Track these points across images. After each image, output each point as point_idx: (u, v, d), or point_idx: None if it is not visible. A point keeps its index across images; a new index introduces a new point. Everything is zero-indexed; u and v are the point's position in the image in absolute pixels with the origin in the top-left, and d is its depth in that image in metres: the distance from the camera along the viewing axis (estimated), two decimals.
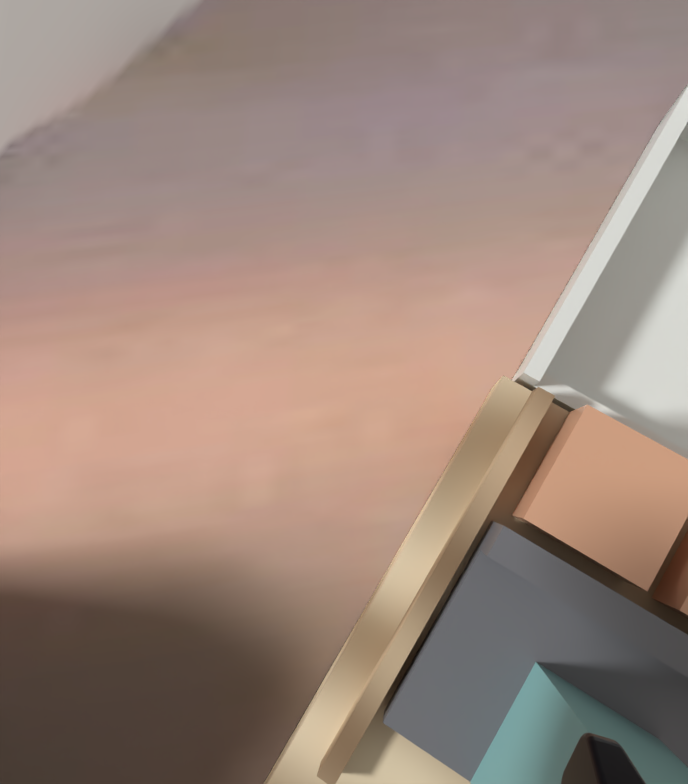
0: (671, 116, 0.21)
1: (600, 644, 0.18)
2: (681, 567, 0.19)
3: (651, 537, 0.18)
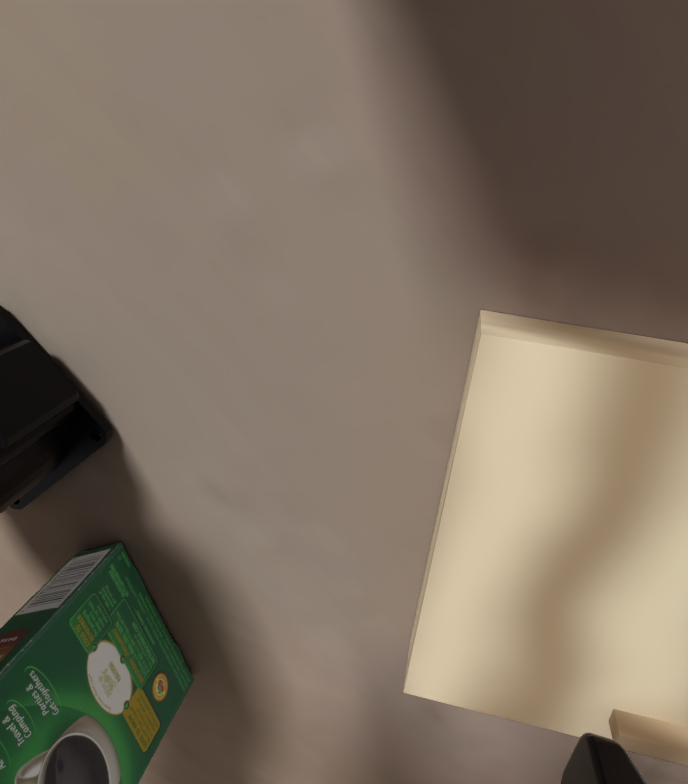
0: None
1: None
2: None
3: None
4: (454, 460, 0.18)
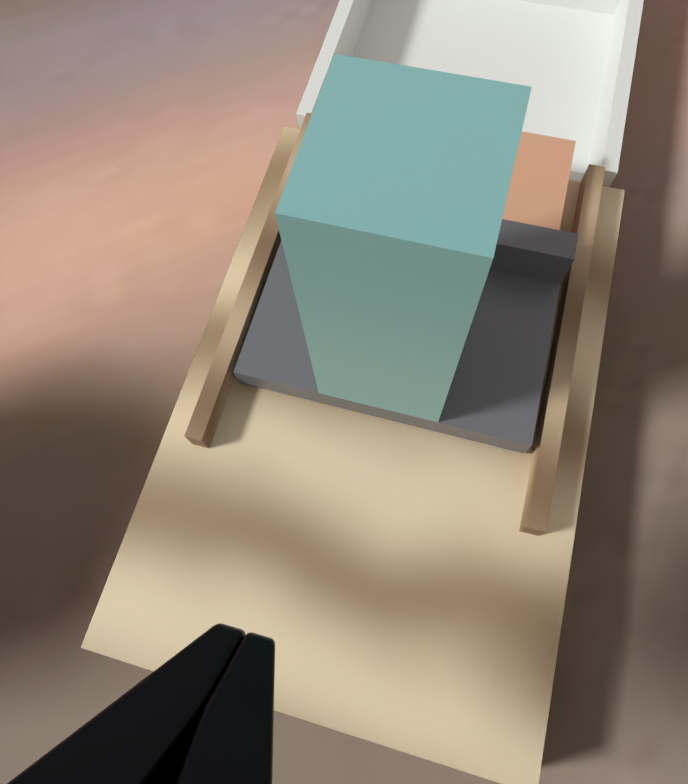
0: None
1: None
2: None
3: None
4: None
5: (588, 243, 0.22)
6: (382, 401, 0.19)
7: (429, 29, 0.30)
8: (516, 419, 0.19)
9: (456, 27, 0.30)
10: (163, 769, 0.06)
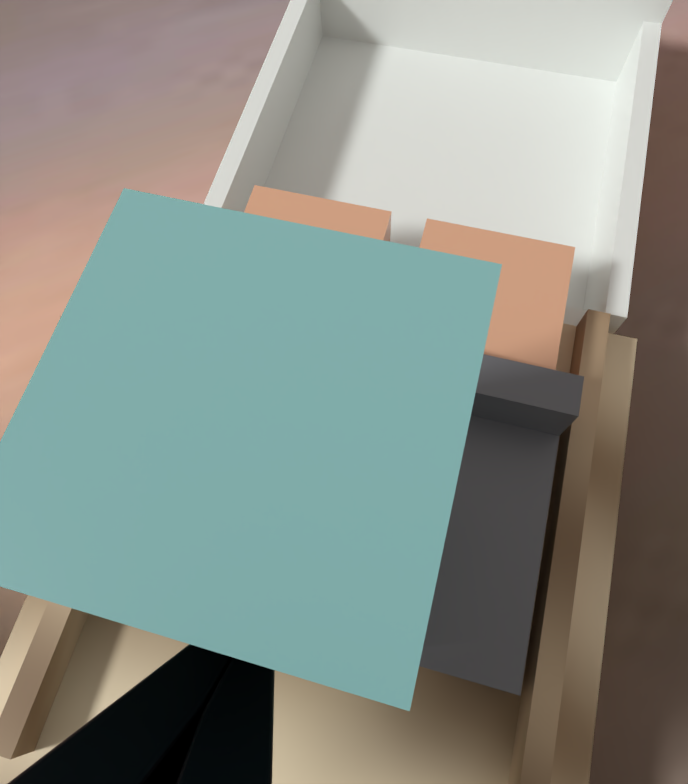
0: None
1: None
2: None
3: None
4: None
5: (588, 432, 0.15)
6: None
7: (382, 100, 0.23)
8: (497, 651, 0.13)
9: (417, 97, 0.23)
10: (164, 769, 0.06)
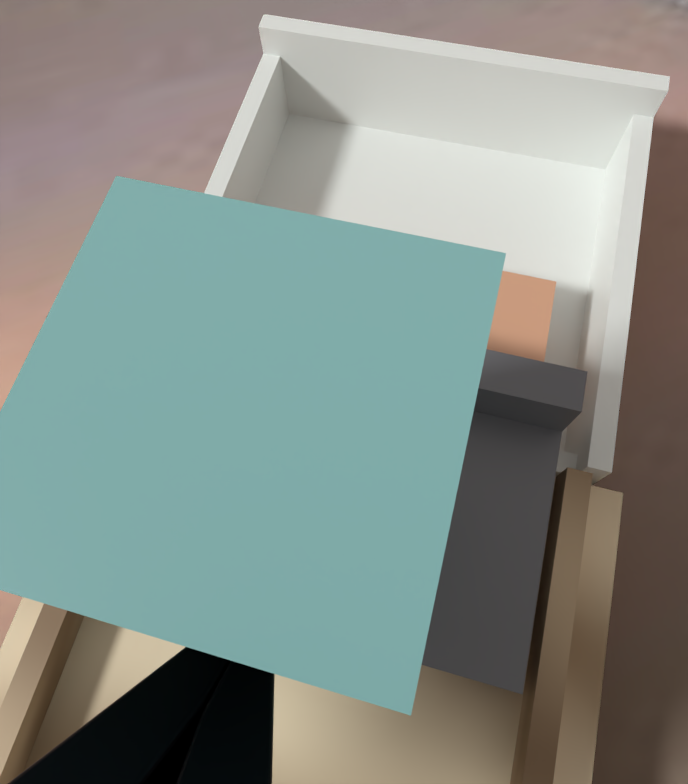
0: (252, 80, 0.20)
1: None
2: None
3: None
4: None
5: (566, 622, 0.13)
6: None
7: (352, 189, 0.22)
8: (499, 650, 0.13)
9: (389, 186, 0.22)
10: (163, 769, 0.06)
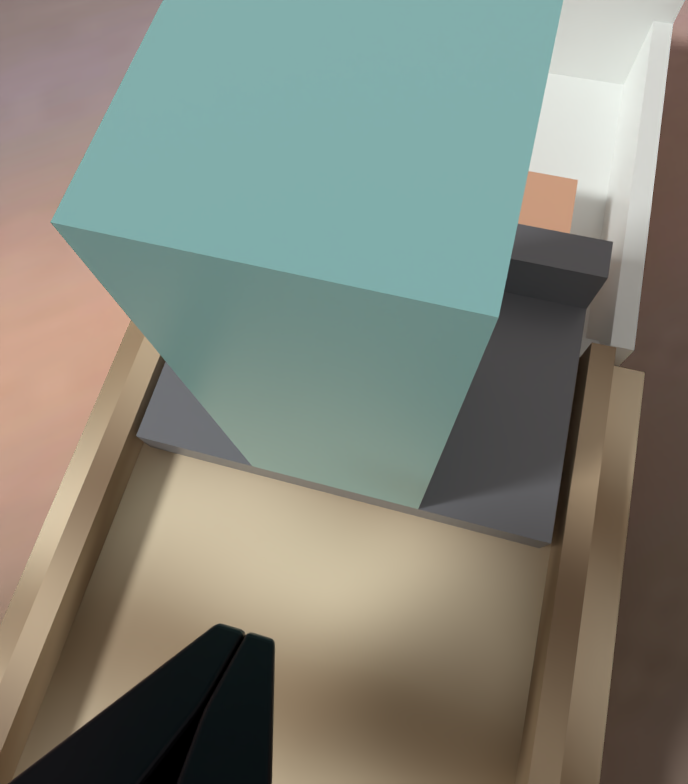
0: None
1: None
2: None
3: None
4: None
5: (592, 480, 0.14)
6: (339, 483, 0.13)
7: None
8: (528, 504, 0.14)
9: None
10: (163, 769, 0.06)
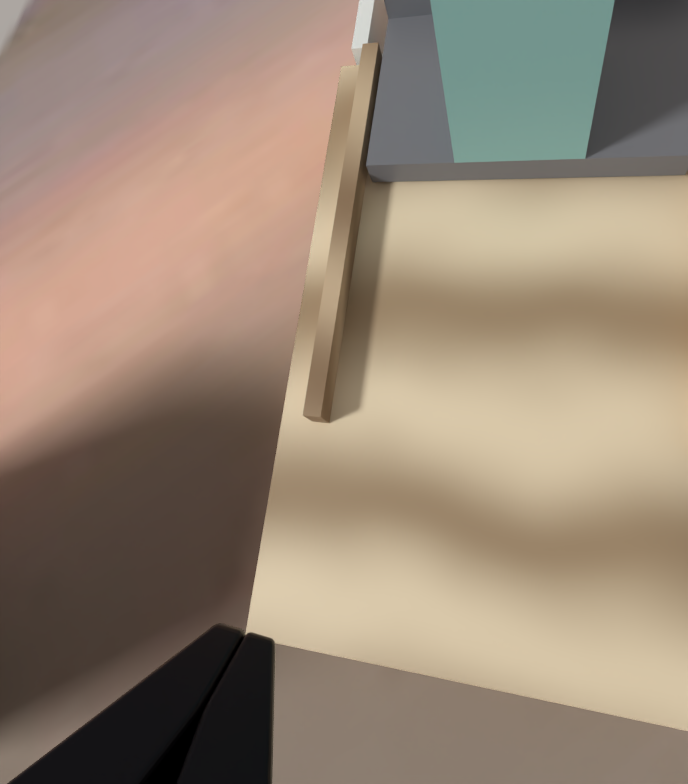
0: None
1: None
2: None
3: None
4: (370, 662, 0.18)
5: None
6: (523, 147, 0.18)
7: None
8: (671, 134, 0.18)
9: None
10: (163, 769, 0.06)
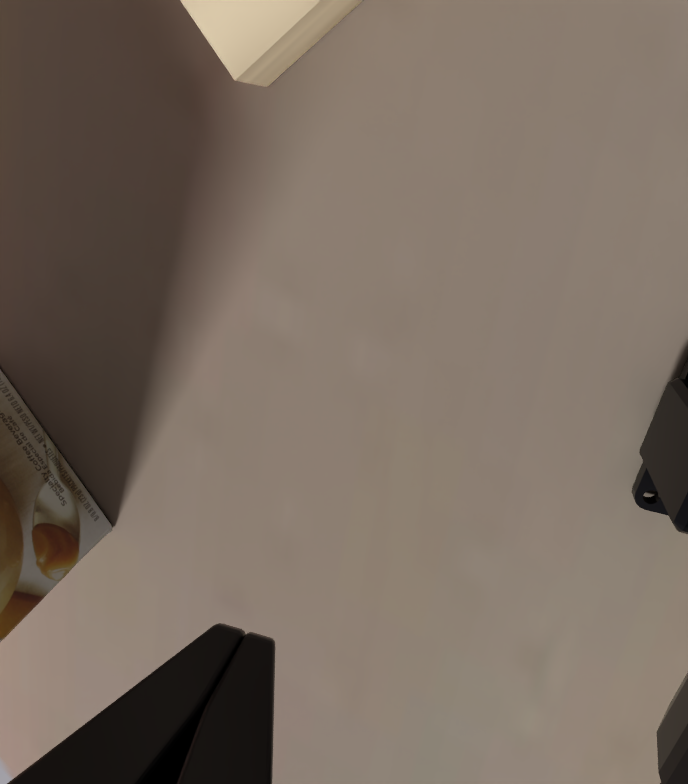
0: None
1: None
2: None
3: None
4: None
5: None
6: None
7: None
8: None
9: None
10: (163, 769, 0.06)
